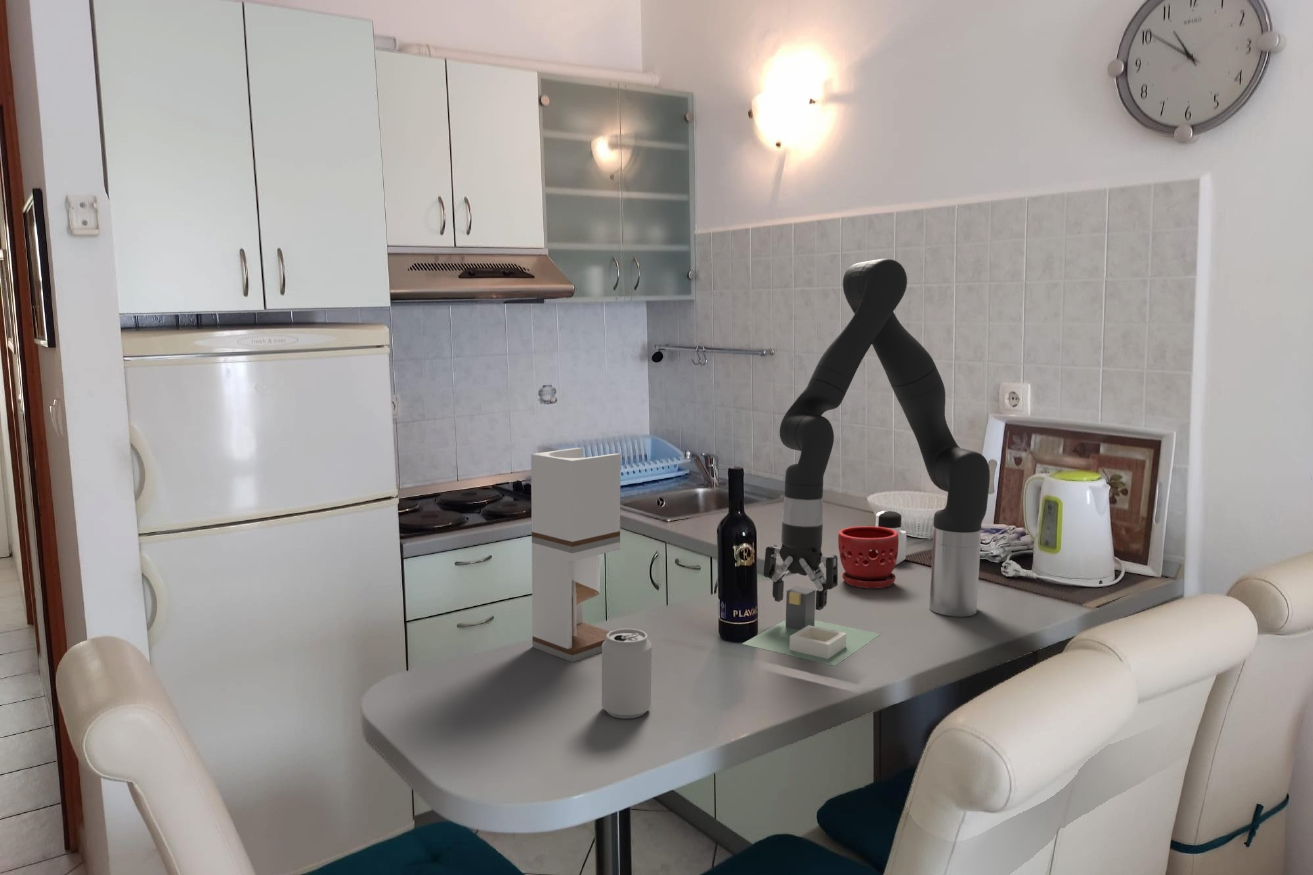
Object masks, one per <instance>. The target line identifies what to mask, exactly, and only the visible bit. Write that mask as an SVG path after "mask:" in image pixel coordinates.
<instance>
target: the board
mask: <svg viewBox="0 0 1313 875" xmlns="http://www.w3.org/2000/svg"><path fill="white" fill-rule="evenodd" d="M880 635H881V633H879V632H878V633H877V632H875V631H874V632H873V631H868V630H865V629H858V628H855V627H849V626H844V625H841V624H836V623H831V622H825V621H820V620H817V619H815V620H814V626H810V625H808V626H806V627H805V628H803V629H801V630H797V629H793V628H788V627H786V619H784V620H782V621H780V622H779V623H777V624H775V625H773V626H771V627H770V628H768V629H766V630H764V631H763V632H760V633H759V634H757V635H755V636H754V637H751V638H749V639H748V640H746V641H744V642H743V643H741V645H743V646H744V645H745V646H748V647H753V648H757V649H761V650H766V651H770V652H773V653H778V654H781V655H787V656H790V657H795V658H798V659H799V658H800V659H803V660H808V661H812V662H817V663H820V664H824V665H828V666H829V665H830V666H832V667H833V666H834V667H836V666H837V665H839V664H840V663H842V662H843V661H844V660H845V659H847V658H849V657H850V656H851V655H853V654H855V653H856V652H857V651H859V650H860V649H862V648H864V647H865V646H866V645H868V643H870V642H871V641H873V640H874V639H876V638H877V637H879V636H880Z"/></svg>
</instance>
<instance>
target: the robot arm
mask: <svg viewBox="0 0 1313 875" xmlns="http://www.w3.org/2000/svg"><path fill="white" fill-rule="evenodd" d="M843 275H844V276H843V279H842V289H843V293H844V297H845V300H846V301H847V303H848V305H849V307H850V308H851V311H852V312H853V314H854V315H853V316H852V318H851V319H850V321H849V322H848V324H847V325H846V326H845V327H844V328H843V330H842V332H840V333H839V335H838V336H837V337H836V338H835V339H834V340H833V341H832V343H831V344H830V345H829V346H828V347H827V348H826V350H825V352H824V353H823V354H822V356H821V357H820V359H819V360H818V362H817V365H816V367H815V369H814V370H813V373H812V374H811V377H810V379H809V382H808V384H807V386H806V387H805V389H804V390H803V391H802V393H800V394H799V396H798V397H797V399H796V400H795V401H794V402H793V403H792V405H791V406H790V407H789V408H788V410H787V411H786V412H785V414H784V416H783V417H782V420H781V422H780V426H779V438H780V442H781V443H782V444H783V445H784V446H785V447H787V448H789V449H790V450H794V451H797V452H798V451H799V452H800V455H799V460H798V462H797V463H794V464H790V465H789V466H788V467H787V468H786V470H785V478H784V497H783V498H784V499H783V505H782V511H781V512H782V513H781V541H780V542H781V547H779V546H778V545H777V544H771V545H769V546H767V547H766V548H765V553H764V562H763V563H764V565H763V576H764V577H765V578H768V579H770V580H771V581H772V598H773V599H774V601H775V602H778V603H779V602H781V601H783V600H784V587H785V586H784V585H785V581H784V580H783V579H784V577H785V576H786V575H787V574H788V573H789V572H790V573H791V574H799V575H800V576H803V577H804V576H808V578H809V580H810V581H812V582H813V584H814V586H815V587H816V589H817V590H815V611H816V610H817V611H821V610H823V609H824V607H826V606H827V604H828V591H829V590H832V589H834V588H835V587H837V586H838V585H839V584H838V582H839V580H838V578H839V573H838V572H839V571H838V567H839V566H838V559H839V558H838V556H837V555H835V554H833V555H830V556H829V555H823V553H822V546H823V545H822V544H823V528H824V503H823V501H824V500H823V495H824V476H825V473H826V470H827V466H828V464H829V460H830V457H831V454H832V450H833V447H834V440H835V435H834V428H833V426H832V424H831V422H830V420H829V419H828V418H826V417H825V416H823V414H824V413H825V412H827V411H831V410H835V409H837V408H839V406H841V405H842V403H843V400H844V398H845V396H846V394H847V392H848V389H849V387H850V385H851V383H852V381H853V379H854V377H855V374H856V372H857V371H858V369H859V367H860V365H861V363H862V361H863V359H864V358H865V355H866V354H867V352H868V351H869V349H870V348H871V346H872V347H873V349H874V351H875V354H876V355H877V359H879V362H880V364H881V366H882V369H883V370H884V372H885V374H886V378H887V380H888V381H889V384H890V386H891V389H892V390H893V393H894V396H896V399H897V401H898V403H899V405H900V407H901V409H902V411H903V413H904V415H905V417H906V419H907V422H908V424H909V427H910V428H911V431H912V434H914V436H915V438H916V441H917V445H918V448H919V451H920V453H921V457H922V460H923V462H924V465H925V470H926V472H927V475H928V476H929V478H930V480H931V482H932V483H933V485H934V486H936V487H937V488H938V489H940V490H941V491H944V492H946V493H947V498H946V499H947V500H946V505H945V507H944V508H942V509H938V510H937V511H935V512H934V515H933V528H932V531H933V532H932V548H931V549H932V550H931V552H932V553H931V569H930V571H931V572H930V588H929V589H930V590H929V610H931V611H932V612H934V613H936V614H939V615H943V616H948V617H970V616H973V615H975V614H977V612H978V611H977V610H978V609H977V607H978V594H979V592H978V591H979V578H980V577H979V576H980V575H979V574H980V573H979V572H980V561H981V560H980V558H981V556H980V555H981V538H982V537H981V536H982V535H981V534H982V524H983V521H984V519H985V517H986V515H987V509H988V503H989V502H988V501H989V500H988V499H989V491H990V490H989V489H990V482H991V481H990V480H991V474H990V473H991V471H990V465H989V463H988V460H987V458H986V457H985V456H984V455H983V454H981V453H980V452H977V451H975V450H970V449H966V448H962V447H960V446H959V445H958V444H957V442H956V439H955V438H954V436H953V435H952V433H951V430H950V428H949V426H948V423H947V420H946V388H945V385H944V381H943V379H942V377H941V375H940V372H939V371H938V370H939V369H938V368H937V365H936V364H935V361H934V359H933V357H932V355H931V354H930V353H929V352H928V351H927V349H926V348H925V347H924V346H923V345H922V343H920V342H919V341H918V340H917V339H916V338H915V337H914V336H913V335H912V334H911V333H909V332H908V330H907V329H906V328H905V327H904V326H903V325H902V324H901V322H900V320H898V318H897V316H896V314H895V310H896V308H897V307H898V305H899V304H900V302H901V301H902V299H903V297H904V295H905V292H906V290H907V286H908V277H907V272H906V269H905V268H904V267H903V265H902V264H901V263H900V262H899V261H897V260H895V259H893V258H879V259H872V260H866V261H861V262H857V263H854V264H852V265H850V266H849V267H848V268H847V269H846V271H845V272H844V274H843ZM779 556H780V559H781V560H782V564H781V565H780V566H779V567H778V568H777V567H776V565H777V558H778V557H779ZM822 563H823V567H824V568H825V574H824V572H823V570H822V568H821V566H820V564H822ZM776 568H777V570H776ZM824 575H825V576H824Z"/></svg>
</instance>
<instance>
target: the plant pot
mask: <svg viewBox="0 0 1313 875" xmlns="http://www.w3.org/2000/svg"><path fill="white" fill-rule="evenodd" d="M837 538H838V539H837V541H838V544H837V545H838V553H839V559H840V562H841V563H840V564H841V565H842V568H843V570H844V572H842V574H841V576H842V579H843V580H844V582H845V583H846V584H848V585H850V586H853V587H856V588H861V589H864V590H865V589H882V588H887V587H889V586H891V585H892V584H894V583H895V582H896V574H895V573H893V571H894V568H895V566H896V565H895V564H896V560H897V555H898V544H899V539H898V533H897V531H895V530H892V529H889V528H884V527H876V526H875V525H874V526H873V525H872V526H871V525H869V526H868V525H867V526H866V525H863V526H850V527H846V528H842V529H840V530H839V532H838V534H837ZM870 550H872V551H870ZM876 550H877V551H878V553H877V552H876Z"/></svg>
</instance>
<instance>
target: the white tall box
mask: <svg viewBox="0 0 1313 875" xmlns="http://www.w3.org/2000/svg"><path fill="white" fill-rule="evenodd" d="M583 452H584V448H583V447H574V448H566V449H558V450H552V451H544V452H537V453H536V452H535V453H531V454H530V456H531V457H530V459H531V461H530V462H531V463H530V464H531V465H530V466H531V468H530V470H531V471H530V472H531V476H530V477H531V478H530V481H531V482H530V483H531V490H530V492H531V598H532V599H531V605H532V606H531V610H532V612H531V614H532V616H531V617H532V618H531V619H532V622H531V623H532V624H531V625H532V628H531V629H532V641H531V642H532V643H531V644H532V648H533V649H534V648H535V649H537V650H540V651H541V652H545V653H547V654H550V655H553V656H554V657H555V656H556V657H558V658H561V659H563V660H566V661H569V662H571V663H574V662H577V661H579V660H583V659H586V658H589V657H590V656H594V655H597V654H600V653H602V644H603V642H604V641H605V640H606V639H607V637H606V635H607V633H609V632H610V631H609V630H606V629H603V628H601V627H597V626H595V625H591V624H588V623H585V622H584V619H583V618H584V616H583V614H584V612H583V611H584V610H583V606H584V605H583V603H584V602H585V601H588V600H590V599H592V598H595V597H596V596H599V595H600V555H603V554H608V553H611V552H616V551H620V550H621V458H622V457H621V453H617V452H616V453H609V454H603V455H596V456H588V457H583V456H584V455H583V454H584V453H583Z"/></svg>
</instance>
